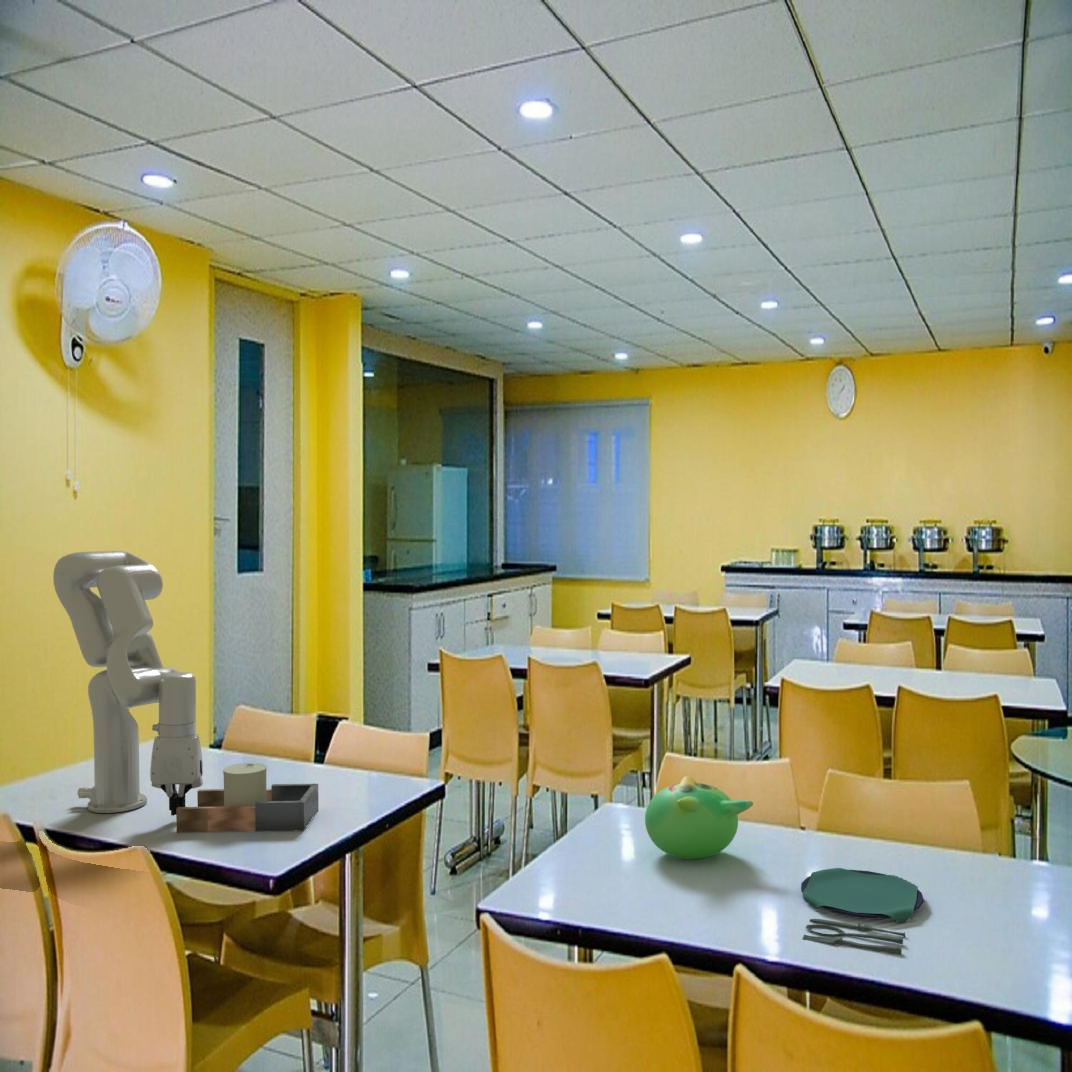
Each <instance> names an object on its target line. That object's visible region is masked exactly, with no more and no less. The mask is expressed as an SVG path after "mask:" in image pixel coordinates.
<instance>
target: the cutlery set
mask: <svg viewBox="0 0 1072 1072" xmlns="http://www.w3.org/2000/svg"><path fill="white" fill-rule="evenodd" d="M918 887H919V886H917V885H916V884H915V883H912V882H911V881H908V880H907V879H904V878H903V877H899V876H897V875H894V874H885V873H881V872H876V871H869V870H858V869H857V870H856V869H847V868H842V867H833V868H827V869H821V870H816V871H812V873H811V874H810V876H807V877H806V878H805V879H804V880H803V881H802V882H801V886H800V891H801V893H802V895H801V896H802V899H803V900H804V902H805V903H807V904H809V905H810V906H812V907H813V908H815V909H816V910H819V908H822V909H825V910H828V911H830V912H832V913H836V914H839V915H845V916H847V917H848V916H849V917H853V918H865V919H889V918H893V920H895V921H896V922H897V924H904V923H906V922H908V921H909V920H910V919H911V918H912V916H913V914H914V912H916V911H917V910H920V908H921V906H922V905H923V904H924V901H925V900H924V896H923V893H922V891H920V889H919V888H918ZM809 922H810V923H813V924H806V926H805V929H806V930H808V931H810V932H811V933H813V934H816V935H819V936H815V935H808V934H807V935H806V934H803V936H802V938H801V939H802V940H805V941H810V942H816V943H819V944H825V945H828V946H829V945H830V946H836V945H838V946H842V945H843V946H844V945H845V946H849V947H853V948H858V949H862V950H863V949H864V950H869V951H874V952H880V953H881V952H882V953H889V954H895V955H899V956H902V947H900V946H890V945H877V944H867V943H858V942H855V941H852V940H846V939H843V937H854V938H855V937H856V938H862V939H863V938H864V939H873V940H878V941H885V942H889V943H895V944H899V945H903V944H904V938H905V939H906V932H905V931H904V932H901V931H900V932H898V931H893V930H891V931H890V930H887V929H882V928H877V927H872V926H870V925H868V924H865V925H863V924H862V925H861V924H860V923H858V924H857V925H856V924H852V923H847V922H841V921H835V920H828V919H823V918H821V919H820V918H809ZM836 926H837V927H836ZM839 927H840V928H841V927H842V928H848V929H854V930H857V931H864V932H873V931H875V932H879V933H887V934H893V935H897V936H902V937H895V936H887V935H880V934H879V935H878V934H873V933H872V934H869V933H868V934H867V933H865V934H864V933H853V932H852V933H851V932H850V933H849V932H848V933H847V932H845V931H844V930H842V929H840V928H839ZM813 929H825V930H830V931H834V932H837V933H835V934H833V933H823V932H819V931H815V930H813ZM839 936H841V937H839ZM842 936H843V937H842Z"/></svg>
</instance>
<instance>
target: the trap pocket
mask: <svg viewBox="0 0 1072 1072" xmlns="http://www.w3.org/2000/svg"><path fill="white" fill-rule="evenodd" d="M270 789H271V794H272V801H257V802H256V803H255V830H256V831H255V832H295V831H294V830H304V831H305V830H306V829H307V827H308V826H309V825H310V823H311V822H312V820H313V819H312V817H313V816H314V815H315V814H316V815H317V813H318V812H317V810H318V809H319V783H273V784H272V785H271V788H270ZM319 810H320V809H319ZM319 810H318V811H319ZM316 812H317V813H316ZM316 815H315V816H316ZM315 816H314V817H315ZM314 817H313V818H314ZM311 819H312V820H311ZM310 821H311V822H310ZM309 822H310V823H309ZM308 824H309V825H308ZM307 825H308V826H307ZM306 826H307V827H306ZM305 828H306V829H305Z"/></svg>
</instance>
